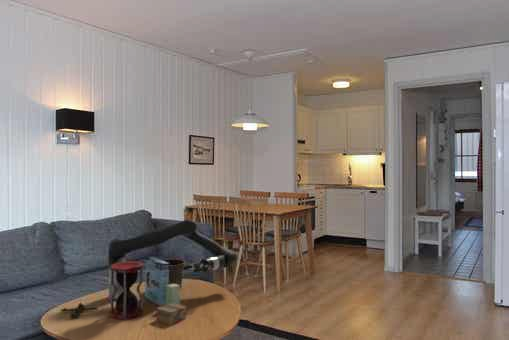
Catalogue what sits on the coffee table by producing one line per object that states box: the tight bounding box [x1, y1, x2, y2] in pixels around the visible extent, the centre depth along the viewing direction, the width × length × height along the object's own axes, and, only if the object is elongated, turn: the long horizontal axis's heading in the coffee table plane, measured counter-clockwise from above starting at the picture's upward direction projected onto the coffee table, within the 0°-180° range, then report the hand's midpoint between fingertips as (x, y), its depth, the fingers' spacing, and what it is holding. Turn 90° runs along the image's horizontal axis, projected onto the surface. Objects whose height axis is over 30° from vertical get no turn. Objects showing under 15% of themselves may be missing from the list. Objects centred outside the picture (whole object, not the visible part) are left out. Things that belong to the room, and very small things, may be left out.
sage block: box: [166, 284, 181, 305], centre depth 219 cm, size 5×5×12 cm
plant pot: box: [161, 258, 186, 289], centre depth 255 cm, size 16×16×16 cm
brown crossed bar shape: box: [60, 302, 99, 320], centre depth 210 cm, size 18×4×14 cm
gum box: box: [144, 256, 169, 307], centre depth 230 cm, size 20×5×23 cm, turn 39°
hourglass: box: [109, 261, 144, 320], centre depth 210 cm, size 16×16×25 cm
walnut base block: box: [156, 303, 187, 325], centre depth 203 cm, size 10×10×6 cm
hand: (189, 269), depth 228 cm, fingers open, 8 cm apart
